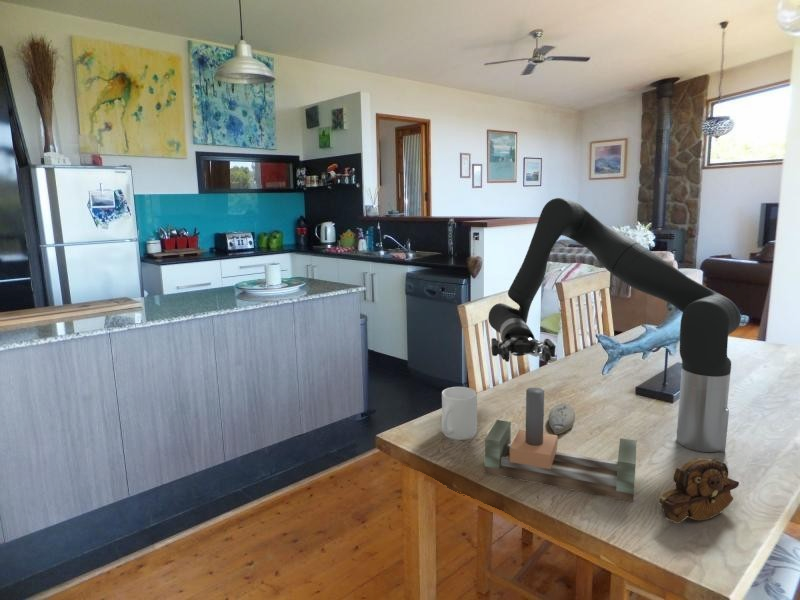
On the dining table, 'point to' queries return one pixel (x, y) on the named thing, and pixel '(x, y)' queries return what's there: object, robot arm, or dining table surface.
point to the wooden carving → (698, 491)
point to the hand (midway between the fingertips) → (527, 357)
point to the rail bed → (565, 467)
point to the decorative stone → (561, 418)
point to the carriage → (534, 435)
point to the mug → (459, 413)
